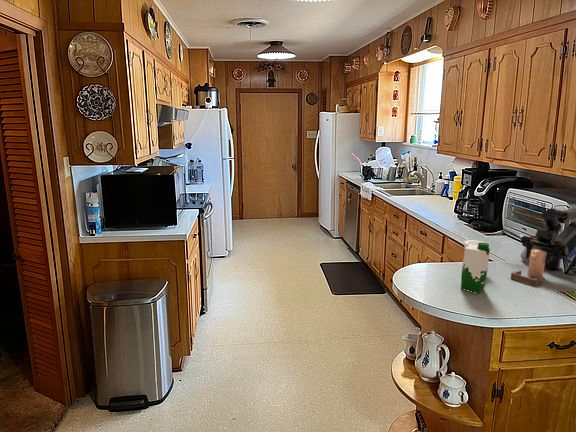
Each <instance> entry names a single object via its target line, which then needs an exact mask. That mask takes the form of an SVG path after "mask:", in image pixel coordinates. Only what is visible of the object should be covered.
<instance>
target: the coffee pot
mask: <svg viewBox="0 0 576 432" xmlns="http://www.w3.org/2000/svg"><path fill="white" fill-rule="evenodd" d="M503 231H504V232H506V233H507V234H509V235H511V236H512V237H515V238H517V239H519V240H520V239H521V237H522V236H519V235H517V234H516V233H515V232H512V231H509V230H508V229H506V228H503V229H502V230H501V232H503ZM528 237H532V239H533V241H537V242H538V241H539V240H537V236H535V235H529V236H528ZM533 249H542V247H539V246H535V245H533ZM526 252H527V248H526V247H524V249H523V250H522V252H521V253H520V258H521V260H523V262H524V263H525V264H528V265H529V261H530V256H529V258H528V259H526Z"/></svg>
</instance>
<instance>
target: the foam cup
mask: <svg viewBox="0 0 576 432" xmlns="http://www.w3.org/2000/svg"><path fill="white" fill-rule="evenodd" d="M478 243H486V242H484V241H481V240H473V239H472V240H471V239H470V240H464V249H465V248H466V247H467V246H469V245H470V244H473V245H478Z"/></svg>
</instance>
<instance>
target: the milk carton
mask: <svg viewBox="0 0 576 432" xmlns="http://www.w3.org/2000/svg"><path fill="white" fill-rule="evenodd" d="M490 252H491V247H490V244H489V243H487V242H485V243H478V245H473V244H470V245H469V246H467V247H466V248H465V247H464V253H463V261H462V269H461V276H460V277H461V279H460V280H461V282H460V283H461V284H460V290H461V289H465V290H469V291H472V292H471V293H473V292H476V293H475V294H477V293H479V294H481V292H483V291H484V289H485V287H486V286H485V285H486V282H487V281H486V280H487V274H488V266H489V261H490V260H489V259H490V254H491V253H490ZM465 290H464V291H465ZM469 291H468V292H469Z"/></svg>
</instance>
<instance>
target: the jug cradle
mask: <svg viewBox="0 0 576 432" xmlns="http://www.w3.org/2000/svg"><path fill="white" fill-rule="evenodd" d="M543 277H544V275H543V276H539V277H537V278H531V277H529V276H528V277H527V276H524V275H522V270H521V269H518V270H515V271H513V272H511V273H510V279H511V280H514V281H517V282H521V283H524V284H527V285H530V286H537V285H539V284H541V283H543Z"/></svg>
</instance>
